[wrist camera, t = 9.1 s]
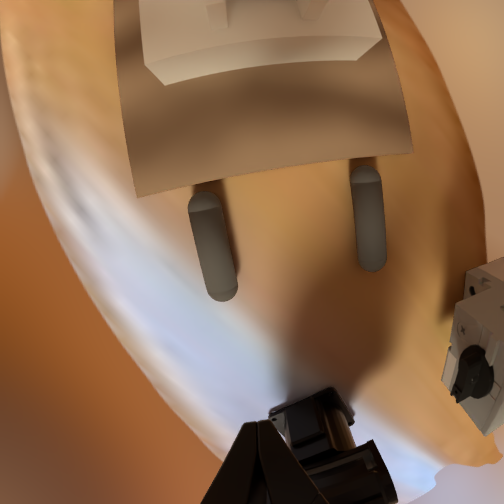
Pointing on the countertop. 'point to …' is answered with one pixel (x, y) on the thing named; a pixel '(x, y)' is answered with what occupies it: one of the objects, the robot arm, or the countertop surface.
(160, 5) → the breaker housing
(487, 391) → the circuit breaker
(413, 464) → the countertop surface
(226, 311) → the countertop surface
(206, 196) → the twin rounded prongs
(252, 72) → the mounting board
